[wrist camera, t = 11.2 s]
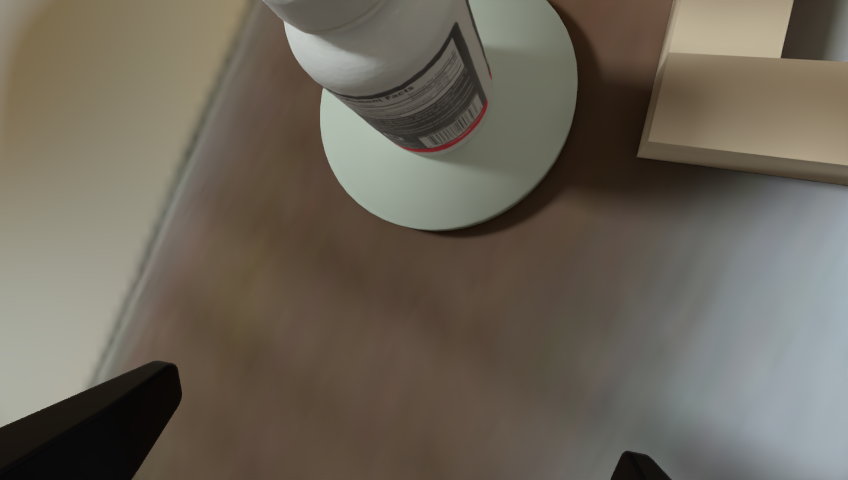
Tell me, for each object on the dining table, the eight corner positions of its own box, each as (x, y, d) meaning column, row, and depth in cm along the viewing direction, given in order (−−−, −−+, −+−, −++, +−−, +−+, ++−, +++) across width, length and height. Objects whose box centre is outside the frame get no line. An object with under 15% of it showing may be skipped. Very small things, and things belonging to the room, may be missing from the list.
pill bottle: (385, 49, 19) (218, -172, 9) (498, 35, 17) (432, -252, 8) (376, 160, 18) (195, 44, 9) (491, 157, 17) (413, 10, 7)
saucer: (639, 113, 16) (645, 103, 15) (411, 282, 18) (404, 282, 17) (469, -67, 19) (465, -85, 18) (293, 100, 21) (281, 92, 20)
